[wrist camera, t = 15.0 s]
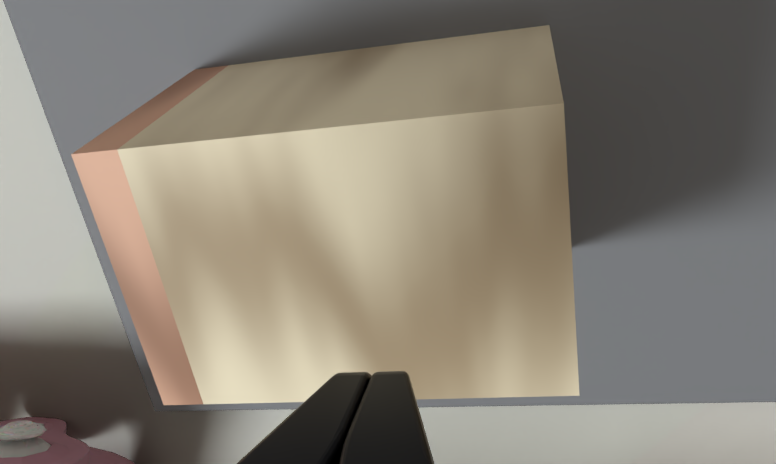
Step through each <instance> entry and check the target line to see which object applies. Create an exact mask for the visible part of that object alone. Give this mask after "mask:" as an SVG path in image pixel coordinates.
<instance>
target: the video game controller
mask: <svg viewBox="0 0 776 464" xmlns="http://www.w3.org/2000/svg"><path fill="white" fill-rule="evenodd" d="M0 464H135V463H134V462H132V461H130V460H128V459H127V458H125V457H122V456H120V455H117V454H115V453H113V452H109V451H104V450H100V449H97V448H93V447H89V446H87V444H86V443H84V442H82V441H80V440H77V439H75V438H72V437H69V436H68V435H66V422H64V421H63V420H60V419H55V418H43V417H26V418H18V419H11V420H5V421H2V422H0Z"/></svg>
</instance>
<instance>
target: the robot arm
mask: <svg viewBox="0 0 776 464" xmlns="http://www.w3.org/2000/svg"><path fill="white" fill-rule="evenodd" d="M237 464H434V461H433V457H432V454H431V450H430V447H429V443H428V440H427V436H426V433H425V429H424V426H423V422H422V419H421V415H420V412H419V408H418V405H417V401H416V398H415V395H414V391H413V388H412V384H411V381H410V377H409V375H408V373H407V372H405V371H381V372H375V373H374V374H372V375H371V374H369V373H368V372H342V373H337V374H335V375H334V376H332V377H331V378H330V379H329V380H328V381H327V382H326V383H324V384H323V385H322V386H321V387H320V388H319V389H318V390H317V391H316V392H315V393H314V394H312V395H311V396H310V397H309V398H308V399H307V400H306V401H305V402H304V403H303V404H301V405H300V406H299V407H298V408H297V409H296V410H295V411H294V412H293V413H292V414H291V415H289V416H288V417H287V418H286V419H285V420H284V421H283V422H282V423H281V424H280V425H278V426H277V427H276V428H275V429H274V430H273V431H272V432H271V433H270V434H269V435H268V436H266V437H265V438H264V439H263V440H262V441H261V442H260V443H259V444H258V445H257V446H256V447H254V448H253V449H252V450H251V451H250V452H249V453H248V454H247V455H246V456H245V457H243V458H242V459H241V460H240V461H239V462H238V463H237Z"/></svg>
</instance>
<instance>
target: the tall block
mask: <svg viewBox="0 0 776 464" xmlns="http://www.w3.org/2000/svg"><path fill="white" fill-rule="evenodd" d="M71 156H72V158H73V161H74V164H75V167H76V169H77V172H78V175H79V177H80V180H81V183H82V185H83V188H84V191H85V194H86V196H87V199H88V202H89V204H90V207H91V210H92V212H93V215H94V218H95V221H96V223H97V226H98V229H99V231H100V234H101V237H102V240H103V242H104V245H105V248H106V250H107V253H108V256H109V258H110V261H111V264H112V267H113V269H114V272H115V275H116V277H117V280H118V283H119V286H120V288H121V291H122V294H123V296H124V299H125V302H126V304H127V307H128V310H129V313H130V315H131V318H132V321H133V323H134V326H135V329H136V331H137V334H138V337H139V340H140V342H141V345H142V348H143V350H144V353H145V356H146V359H147V361H148V364H149V367H150V369H151V372H152V375H153V377H154V380H155V383H156V386H157V388H158V391H159V394H160V396H161V399H162V402H163V404H164V405H196V404H240V403H283V402H305V401H306V400H307V399H308V398H309V397H310V396H311V395H312V394H314V393H315V392H316V391H317V390H318V389H319V388H320V387H321V386H322V385H323V384H324V383H326V382H327V381H328V380H329V379H330V378H331V377H332V376H334V375H335V374H337V373H342V372H368V373H369V374H371V375H372V374H374V373H375V372H381V371H405V372H407V373H408V375H409V377H410V381H411V384H412V388H413V391H414V395H415V398H416V399H457V398H500V397H544V396H580V395H579V376H578V358H577V339H576V320H575V302H574V283H573V264H572V246H571V227H570V208H569V190H568V171H567V152H566V134H565V115H564V101H563V96H562V91H561V85H560V80H559V74H558V69H557V64H556V58H555V53H554V48H553V42H552V37H551V32H550V26H549V25H545V26H537V27H529V28H521V29H513V30H505V31H497V32H489V33H482V34H474V35H466V36H458V37H450V38H442V39H434V40H426V41H418V42H410V43H402V44H394V45H386V46H378V47H370V48H362V49H354V50H346V51H338V52H330V53H322V54H314V55H307V56H299V57H291V58H283V59H275V60H267V61H259V62H251V63H243V64H235V65H227V66H219V67H211V68H203V69H195V70H193V71H191V72H190V73H189V74H187V75H186V76H184V77H183V78H181V79H180V80H178V81H177V82H175V83H174V84H173V85H171V86H170V87H168V88H167V89H165V90H164V91H162V92H161V93H159V94H158V95H157V96H155V97H154V98H152V99H151V100H149V101H148V102H146V103H145V104H143V105H142V106H141V107H139V108H138V109H136V110H135V111H133V112H132V113H130V114H129V115H127V116H126V117H125V118H123V119H122V120H120V121H119V122H117V123H116V124H114V125H113V126H111V127H110V128H109V129H107V130H106V131H104V132H103V133H101V134H100V135H98V136H97V137H96V138H94V139H93V140H91V141H90V142H88V143H87V144H85V145H84V146H82V147H81V148H80V149H78V150H77V151H75V152H74V153H72V154H71Z"/></svg>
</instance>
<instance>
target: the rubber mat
mask: <svg viewBox="0 0 776 464" xmlns="http://www.w3.org/2000/svg"><path fill="white" fill-rule="evenodd" d="M3 1H4V4H5V7H6V9H7V12H8V15H9V17H10V20H11V23H12V26H13V28H14V31H15V34H16V36H17V39H18V42H19V45H20V47H21V50H22V53H23V55H24V58H25V61H26V63H27V66H28V69H29V72H30V74H31V77H32V80H33V82H34V85H35V88H36V91H37V93H38V96H39V99H40V101H41V104H42V107H43V109H44V112H45V115H46V118H47V120H48V123H49V126H50V128H51V131H52V134H53V136H54V139H55V142H56V145H57V147H58V150H59V153H60V155H61V158H62V161H63V164H64V166H65V169H66V172H67V174H68V177H69V180H70V182H71V185H72V188H73V191H74V193H75V196H76V199H77V201H78V204H79V207H80V210H81V212H82V215H83V218H84V220H85V223H86V226H87V228H88V231H89V234H90V237H91V239H92V242H93V245H94V247H95V250H96V253H97V255H98V258H99V261H100V264H101V266H102V269H103V272H104V274H105V277H106V280H107V283H108V285H109V288H110V291H111V293H112V296H113V299H114V301H115V304H116V307H117V310H118V312H119V315H120V318H121V320H122V323H123V326H124V328H125V331H126V334H127V337H128V339H129V342H130V345H131V347H132V350H133V353H134V356H135V358H136V361H137V364H138V366H139V369H140V372H141V374H142V377H143V380H144V383H145V385H146V388H147V391H148V393H149V396H150V399H151V402H152V404H153V407H154V410H155V411H200V410H267V409H297V408H298V407H299V406H300V405H301V404H303V403H304V402H283V403H240V404H196V405H164V404H163V402H162V399H161V396H160V394H159V391H158V388H157V386H156V383H155V380H154V377H153V375H152V372H151V369H150V367H149V364H148V361H147V359H146V356H145V353H144V350H143V348H142V345H141V342H140V340H139V337H138V334H137V331H136V329H135V326H134V323H133V321H132V318H131V315H130V313H129V310H128V307H127V304H126V302H125V299H124V296H123V294H122V291H121V288H120V286H119V283H118V280H117V277H116V275H115V272H114V269H113V267H112V264H111V261H110V258H109V256H108V253H107V250H106V248H105V245H104V242H103V240H102V237H101V234H100V231H99V229H98V226H97V223H96V221H95V218H94V215H93V212H92V210H91V207H90V204H89V202H88V199H87V196H86V194H85V191H84V188H83V185H82V183H81V180H80V177H79V175H78V172H77V169H76V167H75V164H74V161H73V158H72V156H71V154H72V153H74V152H75V151H77V150H78V149H80V148H81V147H82V146H84V145H85V144H87V143H88V142H90V141H91V140H93V139H94V138H96V137H97V136H98V135H100V134H101V133H103V132H104V131H106V130H107V129H109V128H110V127H111V126H113V125H114V124H116V123H117V122H119V121H120V120H122V119H123V118H125V117H126V116H127V115H129V114H130V113H132V112H133V111H135V110H136V109H138V108H139V107H141V106H142V105H143V104H145V103H146V102H148V101H149V100H151V99H152V98H154V97H155V96H157V95H158V94H159V93H161V92H162V91H164V90H165V89H167V88H168V87H170V86H171V85H173V84H174V83H175V82H177V81H178V80H180V79H181V78H183V77H184V76H186V75H187V74H189V73H190V72H191V71H193V70H195V69H203V68H211V67H219V66H227V65H235V64H243V63H251V62H259V61H267V60H275V59H283V58H291V57H299V56H307V55H314V54H322V53H330V52H338V51H346V50H354V49H362V48H370V47H378V46H386V45H394V44H402V43H410V42H418V41H426V40H434V39H442V38H450V37H458V36H466V35H474V34H482V33H489V32H497V31H505V30H513V29H521V28H529V27H537V26H545V25H549V26H550V32H551V37H552V42H553V48H554V53H555V58H556V64H557V69H558V74H559V80H560V85H561V91H562V96H563V101H564V115H565V134H566V152H567V171H568V190H569V208H570V227H571V246H572V264H573V283H574V302H575V320H576V339H577V358H578V376H579V395H580V396H544V397H500V398H457V399H416V401H417V405H418V407H465V406H532V405H598V404H664V403H731V402H776V0H3Z"/></svg>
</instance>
